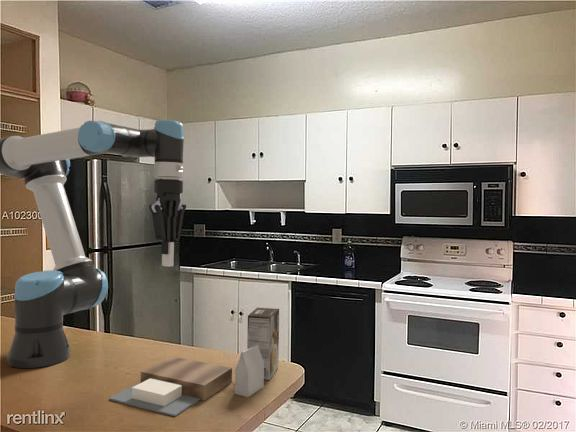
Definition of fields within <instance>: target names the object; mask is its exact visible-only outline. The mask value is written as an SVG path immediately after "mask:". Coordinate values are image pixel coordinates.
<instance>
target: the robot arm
mask: <svg viewBox="0 0 576 432" xmlns="http://www.w3.org/2000/svg"><path fill="white" fill-rule="evenodd" d="M184 141H185V137H184V125H183V123H181V122H180V121H179V120H178V121H177V120H173V119H172V120H171V119H159V120H156V121H155V123H154V127H153V129H152V128H151V129H138V128H132V127H128V126H124V125H117V124H113V123H109V122H105V121H103V120H87V121H85V122H84V123H83V124H82V125H80V127H75V128H68V129H64V130H58V131H54V132H53V131H52V132H47V133H43V134H42V133H41V134H38V135H32V136H27V137H22V136H20V135H11V136H6V137H5V136H4V137H0V175H2V176H5V177H9V178H16V179H22V180H23V182H24V185H25V188H26V189H27V190H29V191H31V192H33V195H34V200H35V203H36V205H37V209H38V212H39V215H40V218H41V222H42V226H43V229H44V233H45V235H46V238H47V242H48V246H49V249H50V253H51V256H52V258H53V262H54V267H53V270H50V269H49V270H43V271H35V272H30V273H28V274H25V275H22V276H20V277H19V278H18V279H17V280H16V282H15V284H14V285H15V286H14V289H15V290H14V294H13V298H14V335H13V338H12V341H11V344H10V347H9V350H8V352H7V356H6V357H7V358H6V362H8V363H7V365H8V364H9V365H8V366H10V365H11V366H10V367H12V366H14V367H13V368H17V369H18V368H19V369H35V368H44V367H47V366H48V367H49V366H52V365H57V364H58V363H59V364H60V363H61V362H64V361H66V360H67V359H68V358H69V357H70V356H71V354H70V353H71V347H70V344H69V342H68V339H67V336H66V333H65V331H64V325H63V324H64V316H65V315H68V314H72V313H76V312H79V311H80V312H81V311H86V310H89V309H91V308H93V307H96V306H98V305H100V304H101V303H102V302H103V301H104V299H105V298H106V295H107V293H108V289H109V282H108V277H107V275H106V273H105V272H104V271H102V270H101V269H100V268H96V267H95V265H94V262H93V260H92V259H91V258H89V257H86V255H85V251H84V248H83V244H82V240H81V238H80V235H79V231H78V229H77V226H76V225H77V224H76V221H75V219H74V216H73V212H72V209H71V205H70V202H69V199H68V196H67V193H66V189H65V186H64V185H65V184H66V182H67V176H68V175H69V172H70V169H69V168H70V167H71V161H70V160H71V159H76V158H82V157H89V156H96V155H103V154H109V155H110V154H111V155H118V156H119V155H120V156H122V157H123V158H131V159H137V158H151V157H152V158H154V165H153V166H154V167H153V176H154V178H155V179H154V183H153V184H154V185H153V186H154V187H153V191H154V193H155V194H156V197H155V202H154V204H149V205H148V206H149V207H148V208H149V210H150V213H151V218H152V224H153V229H154V237H155V240H156V241H157V243H158V242H159V243H161V245H160V246H161V248H160V249H161V251H160V253H161V266H162V267H169V268H170V267H174V266H175V265H174V262H175V260H174V257H175V255H174V254H175V243H177V242H179V239H180V238H181V233H182V228H183V220H184V213H185V211H186V209H187V205H186V204H183V203H182V202H181V201H182V200H181V196H180V194H183V192H184V181H183V180H182V179H183V178H184V143H185V142H184Z"/></svg>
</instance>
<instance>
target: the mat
mask: <svg viewBox="0 0 576 432" xmlns="http://www.w3.org/2000/svg"><path fill="white" fill-rule="evenodd" d="M138 384H139V383H136V384H134V385H132V386H130V387H128V388H126V389H124V390H122V391H121V392H120V391H119V392H118V393H116V394H114V395H113V396H110V397H108V400H109V401H113V402H116V403H120V404H124V405H129V406H131V407H132V406H133V407H135V408H139V409H143V410H147V411H152V412H155V413H159V414H163V415H167V416H172V417H177V416H178V415H180V414H181V413H183V412H184V411H186V410H187V409H189V408H190V407H192V406H194V405H195V404H197V403H198V402H200V401H201V400H200V398H195V397H191V396H187V395H182V396H181V397H179V398H177V399H176V400H174V401H172V402H171V403H169V404H167V405H166V406H161V405H157V404H153V403H149V402H145V401H141V400H137V399H133V398H132V387H134V386H136V385H138ZM199 400H200V401H199Z"/></svg>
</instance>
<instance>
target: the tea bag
mask: <svg viewBox="0 0 576 432" xmlns="http://www.w3.org/2000/svg"><path fill="white" fill-rule="evenodd" d="M238 359H239V360H238V361H237V364H236V366H235V368H234V394H235V395H238V396H243V397H246V398H249V397H250V396H252V395H254V394H255V393H256V392H259V391H260V390H261V389H263V388H265V387H264V386H265V384H264V383H265V379H264V361H263V358H262V356H261V353H260V350H259V346H258V345H255V346H253V347H251V348H249V349H246V350H245V349H244V350H243V351H240V356H239V358H238Z"/></svg>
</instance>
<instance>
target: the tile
mask: <svg viewBox="0 0 576 432" xmlns="http://www.w3.org/2000/svg"><path fill="white" fill-rule="evenodd" d="M137 384H138V385H136V384H135V385H136V386H134V385H133V386H134V387H132V386H131V387H132V398H133V399H137V400H141V401H145V402H149V403H153V404H157V405H161V406H166V405H167V404H169V403H171V402H172V401H174V400H176V399H177V398H179V397H181V396H182V385H178V384H174V383H169V382H165V381H160V380H156V379H151V378H150V379H148V380H146V381H144V382H142V383H141V382H140V383H137Z"/></svg>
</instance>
